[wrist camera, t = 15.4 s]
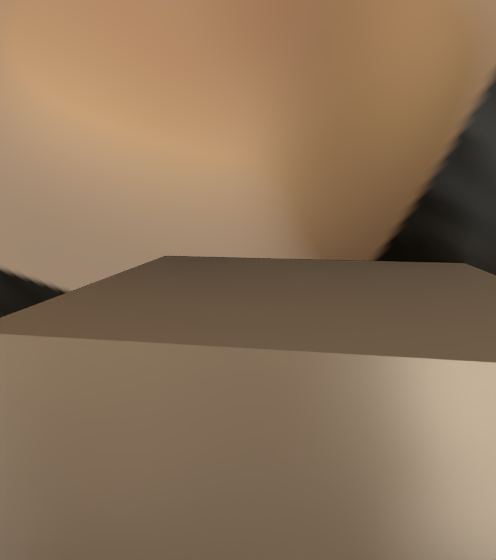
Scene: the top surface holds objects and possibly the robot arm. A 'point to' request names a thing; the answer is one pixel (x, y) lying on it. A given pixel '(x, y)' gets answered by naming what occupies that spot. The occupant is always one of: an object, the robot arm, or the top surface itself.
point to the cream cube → (253, 414)
